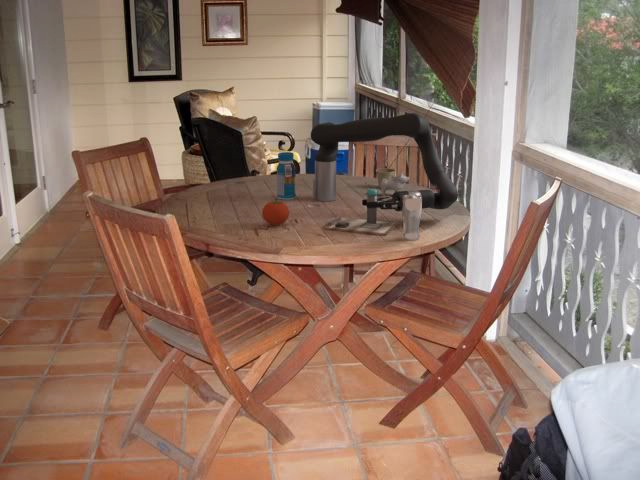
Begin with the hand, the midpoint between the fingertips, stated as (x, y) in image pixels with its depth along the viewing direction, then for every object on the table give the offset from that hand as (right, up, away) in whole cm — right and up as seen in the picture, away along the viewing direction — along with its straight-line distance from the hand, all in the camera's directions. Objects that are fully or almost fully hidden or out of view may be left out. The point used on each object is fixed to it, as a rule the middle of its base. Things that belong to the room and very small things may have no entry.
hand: (364, 204), depth 248 cm
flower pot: (+14, +11, +71) cm, 74 cm away
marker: (+3, -7, +3) cm, 8 cm away
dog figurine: (+17, +7, +56) cm, 59 cm away
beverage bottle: (-31, +5, +52) cm, 61 cm away
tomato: (-33, -8, +8) cm, 35 cm away
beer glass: (+16, -13, -10) cm, 22 cm away
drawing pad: (-1, -8, +5) cm, 10 cm away
